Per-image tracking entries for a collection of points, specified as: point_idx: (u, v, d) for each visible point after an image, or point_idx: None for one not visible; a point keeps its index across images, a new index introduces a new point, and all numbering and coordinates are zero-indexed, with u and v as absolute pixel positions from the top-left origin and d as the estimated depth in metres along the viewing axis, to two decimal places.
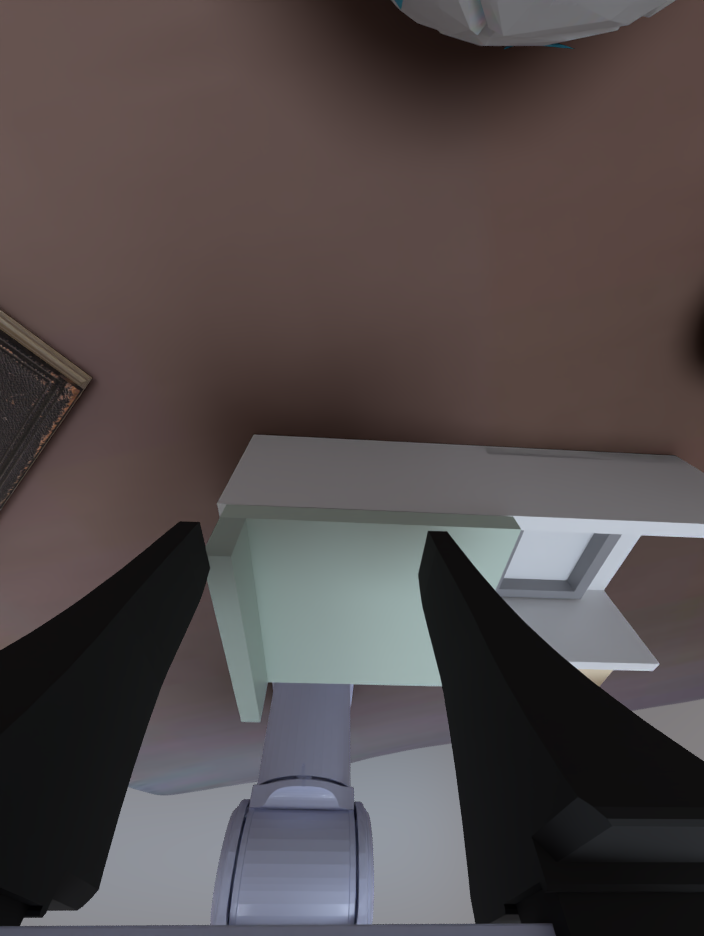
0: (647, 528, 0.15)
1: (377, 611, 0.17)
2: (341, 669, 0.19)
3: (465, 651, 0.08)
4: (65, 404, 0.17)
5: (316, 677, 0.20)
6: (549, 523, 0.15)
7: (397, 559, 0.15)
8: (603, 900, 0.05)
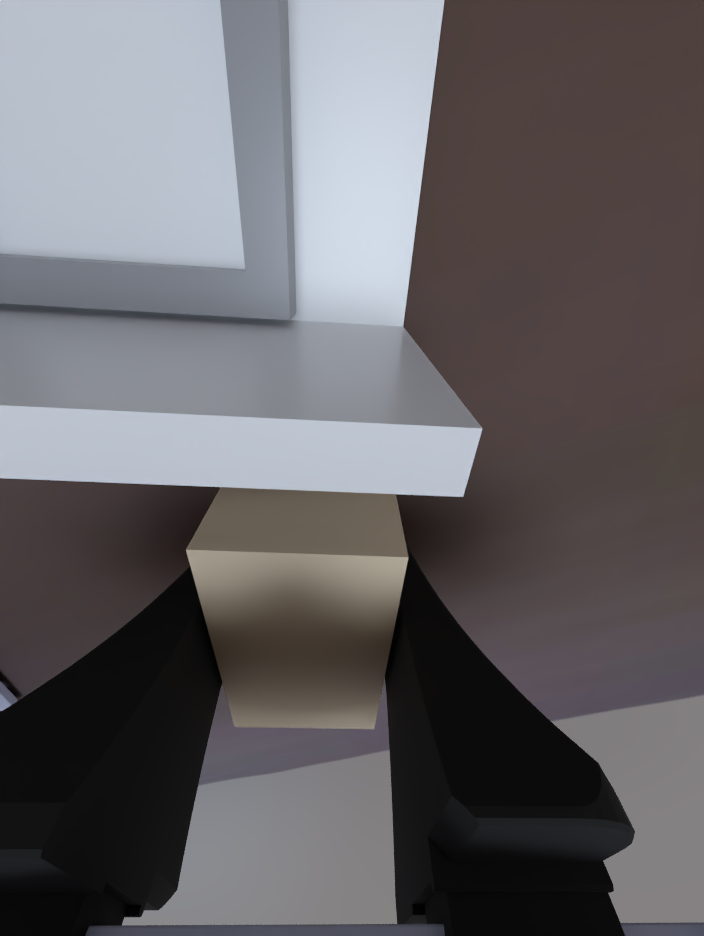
0: None
1: None
2: None
3: (398, 649, 0.08)
4: None
5: None
6: None
7: None
8: (492, 900, 0.05)
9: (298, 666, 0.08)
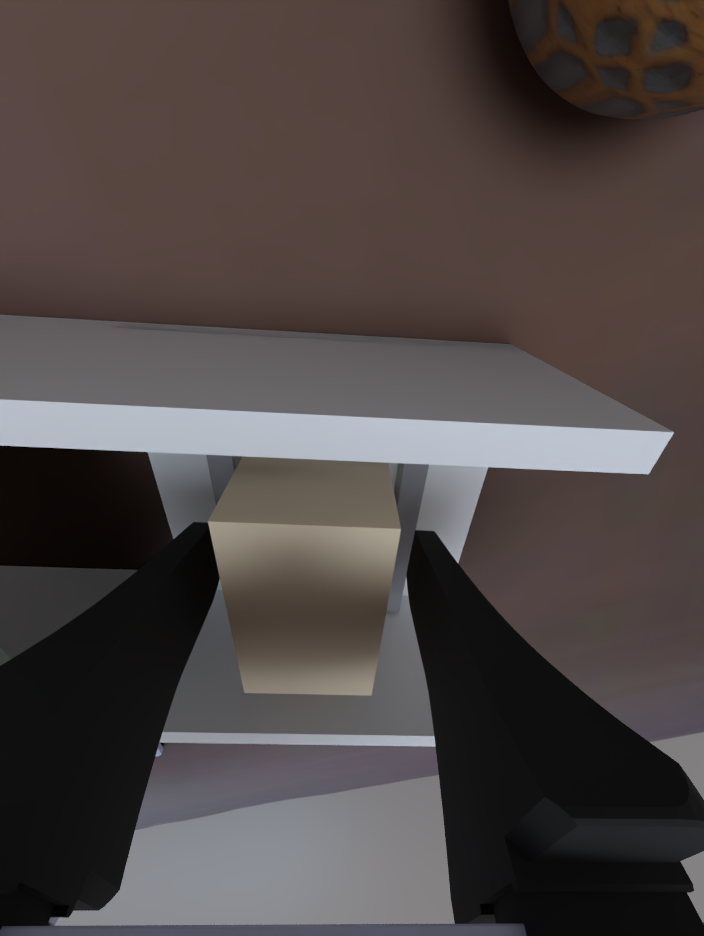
0: (265, 436, 0.05)
1: None
2: None
3: (447, 651, 0.08)
4: None
5: None
6: None
7: None
8: (574, 900, 0.05)
9: (303, 632, 0.09)
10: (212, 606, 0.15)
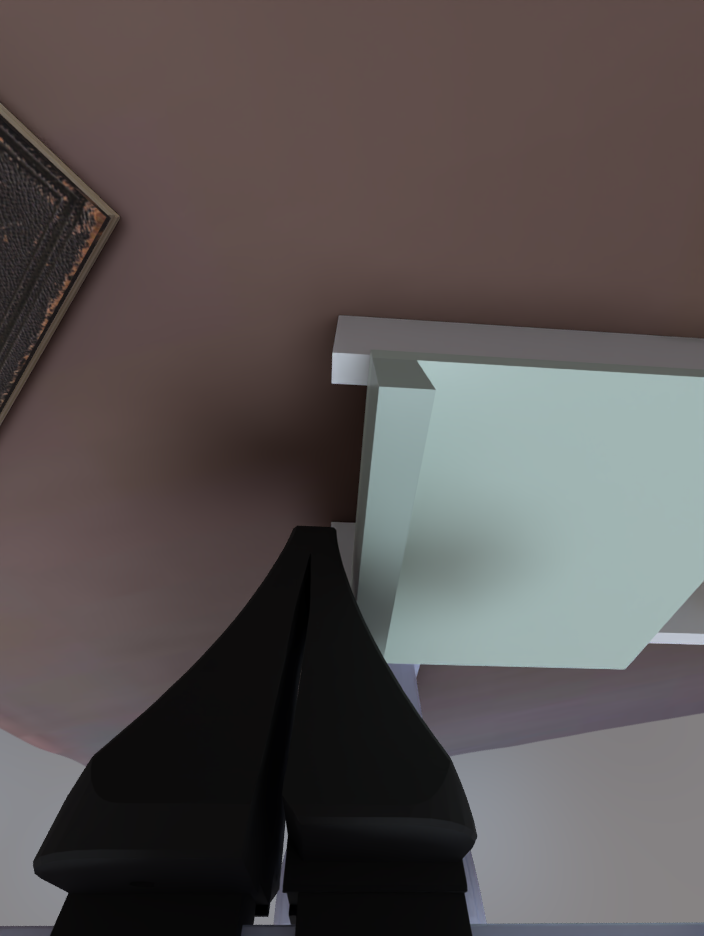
0: None
1: (567, 548, 0.11)
2: (477, 644, 0.14)
3: None
4: (84, 242, 0.11)
5: (439, 655, 0.14)
6: None
7: (639, 450, 0.09)
8: (344, 900, 0.05)
9: None
10: None
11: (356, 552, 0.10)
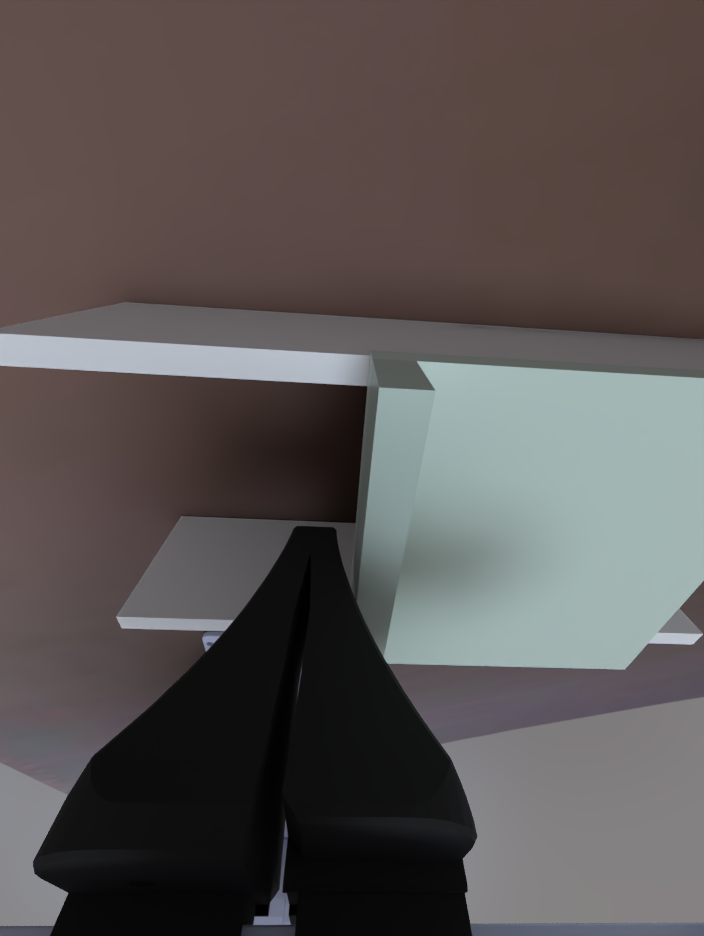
0: None
1: (566, 548, 0.11)
2: (477, 644, 0.14)
3: None
4: None
5: (439, 655, 0.14)
6: None
7: (639, 450, 0.09)
8: (344, 900, 0.05)
9: None
10: None
11: (356, 552, 0.10)
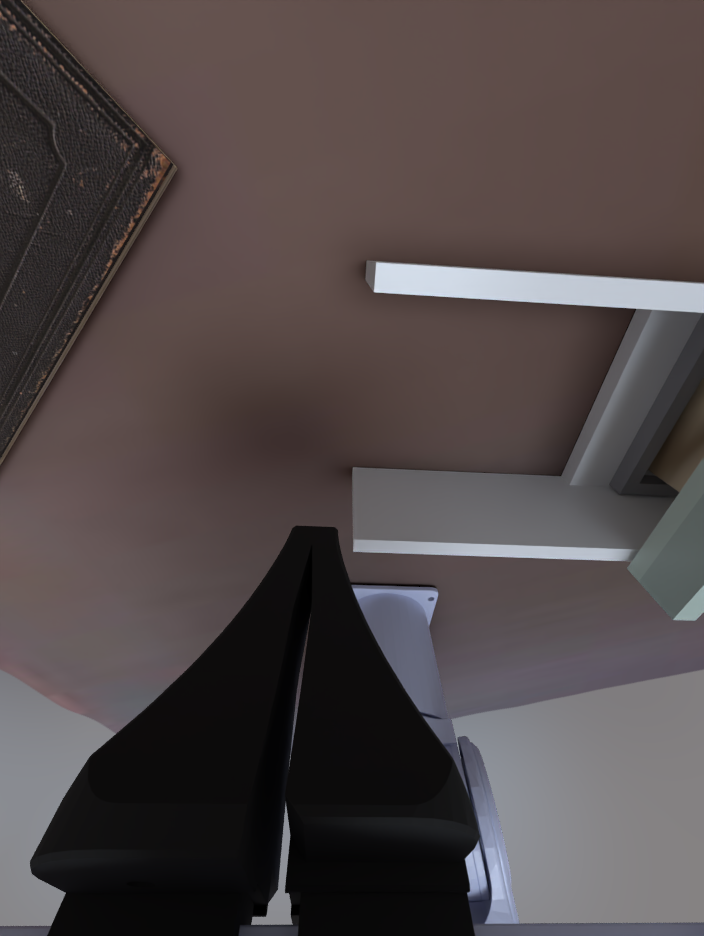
0: None
1: None
2: None
3: None
4: (149, 186, 0.13)
5: None
6: None
7: None
8: (346, 900, 0.05)
9: None
10: (599, 494, 0.21)
11: None
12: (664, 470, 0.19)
